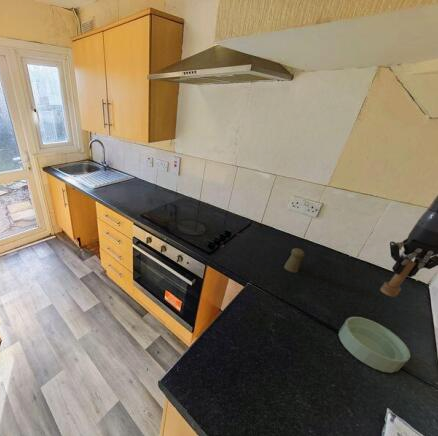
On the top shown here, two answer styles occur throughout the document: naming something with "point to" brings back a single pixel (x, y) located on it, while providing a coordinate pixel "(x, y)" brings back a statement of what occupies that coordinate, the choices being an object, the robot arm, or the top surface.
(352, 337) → the bowl
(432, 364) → the top surface
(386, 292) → the muddler
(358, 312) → the top surface
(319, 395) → the top surface
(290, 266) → the cork
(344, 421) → the top surface
